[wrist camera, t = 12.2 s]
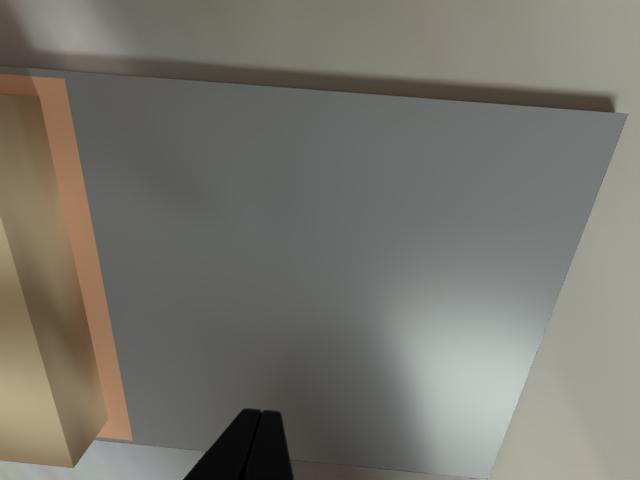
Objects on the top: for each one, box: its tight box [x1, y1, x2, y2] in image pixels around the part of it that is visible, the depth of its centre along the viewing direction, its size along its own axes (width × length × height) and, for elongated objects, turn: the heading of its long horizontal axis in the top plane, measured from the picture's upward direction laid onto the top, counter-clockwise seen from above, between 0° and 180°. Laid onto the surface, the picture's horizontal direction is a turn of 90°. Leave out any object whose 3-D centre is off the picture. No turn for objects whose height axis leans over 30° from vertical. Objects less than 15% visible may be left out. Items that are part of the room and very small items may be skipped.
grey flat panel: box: [0, 66, 628, 480], centre depth 12 cm, size 14×30×1 cm, turn 86°
